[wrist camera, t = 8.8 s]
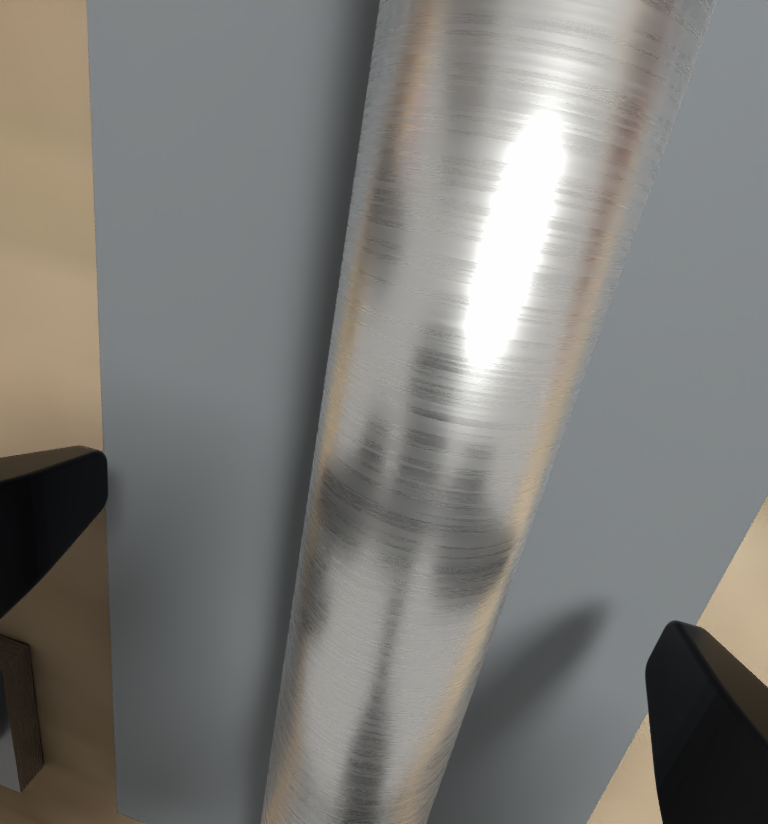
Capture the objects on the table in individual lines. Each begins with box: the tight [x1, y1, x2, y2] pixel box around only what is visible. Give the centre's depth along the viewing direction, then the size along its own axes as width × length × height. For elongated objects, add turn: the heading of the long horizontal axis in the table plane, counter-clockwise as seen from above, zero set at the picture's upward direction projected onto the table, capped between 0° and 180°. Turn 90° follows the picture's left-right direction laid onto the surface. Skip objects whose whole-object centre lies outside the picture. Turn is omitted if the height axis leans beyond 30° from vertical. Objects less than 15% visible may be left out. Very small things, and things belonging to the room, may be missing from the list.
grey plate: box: [87, 0, 768, 824], centre depth 9 cm, size 24×11×1 cm, turn 169°
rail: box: [261, 0, 717, 824], centre depth 8 cm, size 24×3×3 cm, turn 169°
